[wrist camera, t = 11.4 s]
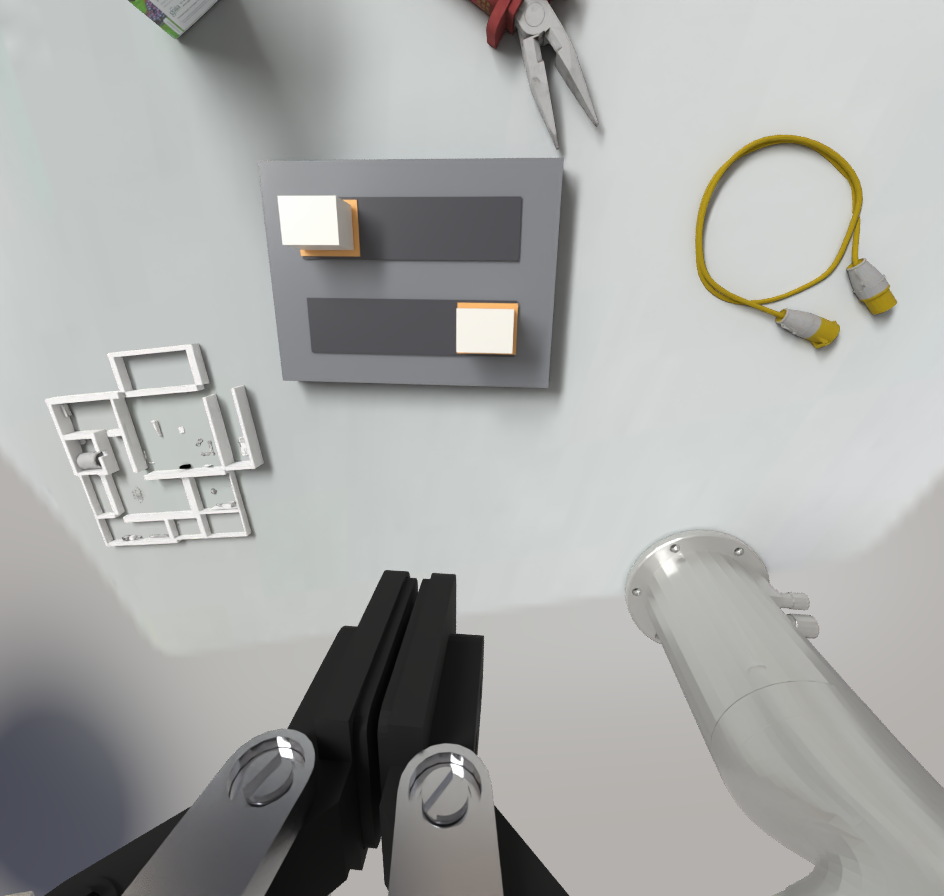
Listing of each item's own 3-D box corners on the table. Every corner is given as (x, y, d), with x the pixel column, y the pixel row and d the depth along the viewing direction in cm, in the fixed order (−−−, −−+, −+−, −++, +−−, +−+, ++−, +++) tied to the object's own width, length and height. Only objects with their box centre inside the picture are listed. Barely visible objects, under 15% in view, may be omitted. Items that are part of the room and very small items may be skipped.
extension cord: (723, 378, 37) (734, 382, 35) (671, 180, 33) (681, 172, 31) (885, 319, 34) (906, 320, 32) (851, 98, 30) (873, 84, 28)
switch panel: (560, 166, 33) (564, 156, 30) (546, 383, 37) (548, 388, 35) (271, 168, 34) (255, 159, 32) (294, 376, 39) (281, 380, 37)
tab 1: (351, 205, 32) (335, 195, 29) (353, 250, 33) (339, 245, 30) (297, 205, 33) (277, 195, 30) (301, 250, 33) (282, 244, 31)
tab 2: (513, 309, 33) (514, 309, 31) (512, 349, 34) (512, 353, 32) (461, 308, 34) (456, 308, 31) (460, 348, 35) (456, 352, 32)
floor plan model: (217, 265, 37) (201, 263, 35) (284, 531, 45) (274, 542, 43) (21, 290, 39) (-3, 289, 38) (116, 540, 47) (100, 550, 45)
